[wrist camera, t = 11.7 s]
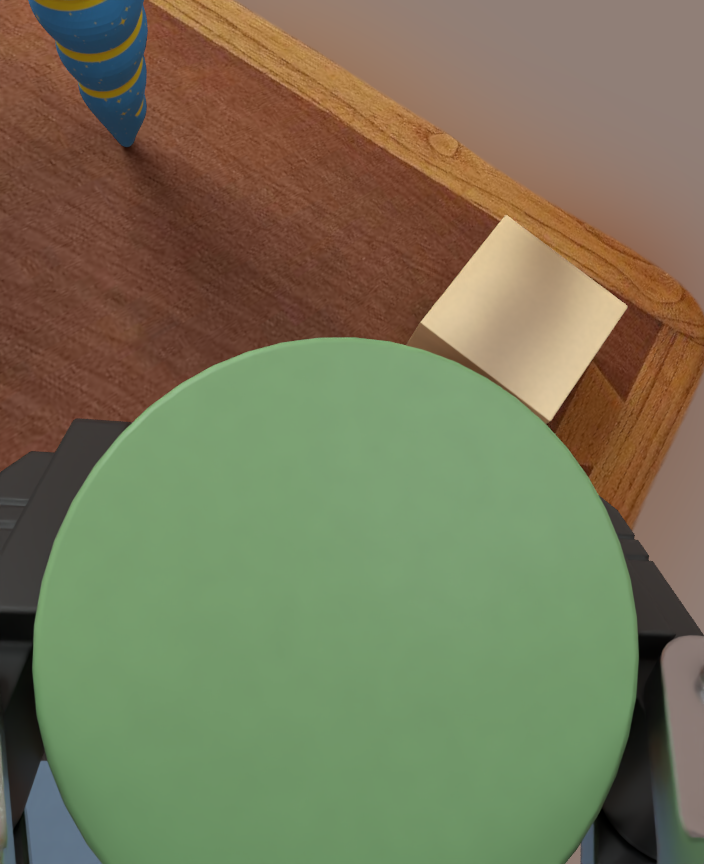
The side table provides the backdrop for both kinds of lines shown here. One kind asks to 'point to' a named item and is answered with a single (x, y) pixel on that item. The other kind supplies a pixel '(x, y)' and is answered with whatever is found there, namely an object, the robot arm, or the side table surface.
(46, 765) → the blue mat
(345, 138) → the side table surface
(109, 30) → the ornament
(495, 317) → the maple block
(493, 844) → the green canister
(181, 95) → the side table surface
